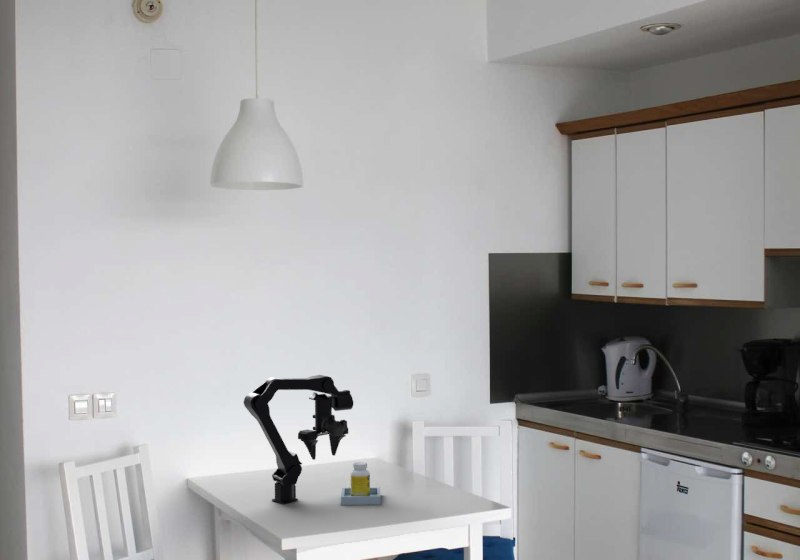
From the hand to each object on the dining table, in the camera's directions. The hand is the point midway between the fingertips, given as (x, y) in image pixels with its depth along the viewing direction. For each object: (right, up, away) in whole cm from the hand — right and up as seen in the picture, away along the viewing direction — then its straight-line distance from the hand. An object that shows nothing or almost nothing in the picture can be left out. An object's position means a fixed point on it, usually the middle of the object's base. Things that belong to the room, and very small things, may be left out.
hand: (323, 457), depth 314 cm
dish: (+13, -13, -7) cm, 20 cm away
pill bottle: (+13, -13, -6) cm, 19 cm away
